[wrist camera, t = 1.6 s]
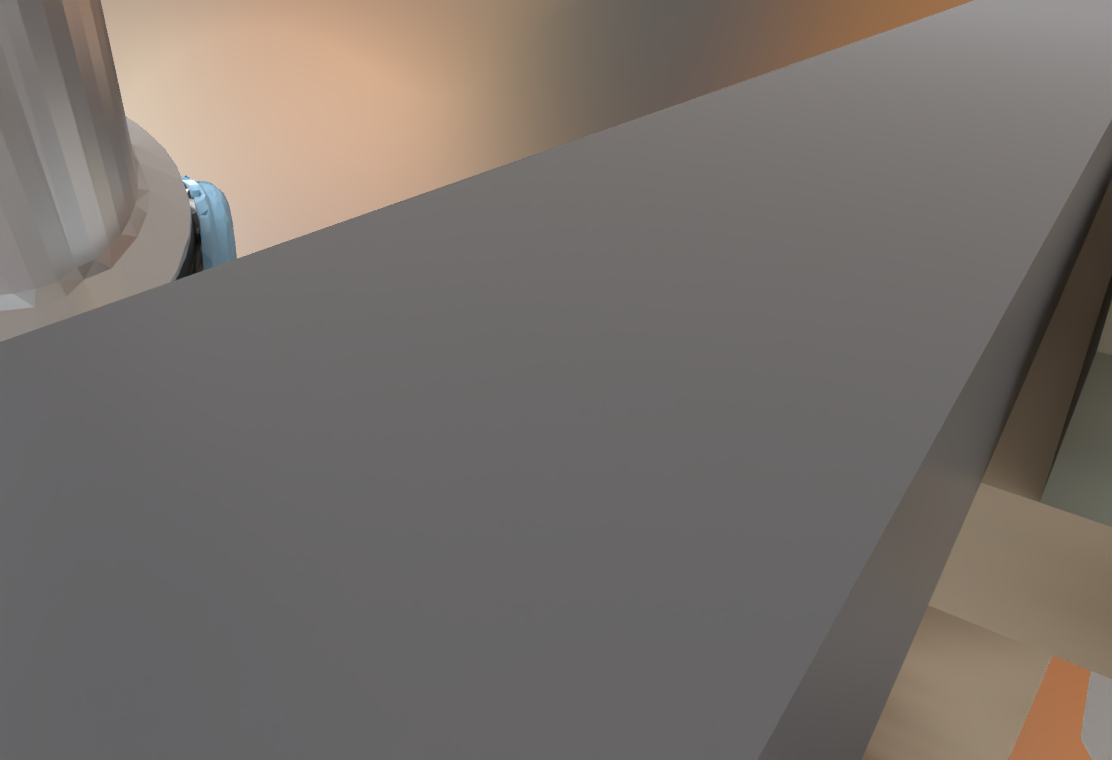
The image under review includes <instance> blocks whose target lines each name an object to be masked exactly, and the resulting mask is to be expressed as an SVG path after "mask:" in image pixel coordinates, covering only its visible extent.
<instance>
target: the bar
mask: <svg viewBox="0 0 1112 760" xmlns="http://www.w3.org/2000/svg"><path fill="white" fill-rule="evenodd" d="M1111 179H1112V0H975V1H972V2H969V3H966V4H963V5H960V6H957V7H955V8H952V9H949V10H946V11H943V12H940V13H937V14H935V15H932V16H929V17H926V18H923V19H920V20H917V21H914V22H912V23H909V24H906V25H903V26H900V27H898V28H895V29H892V30H889V31H886V32H883V33H880V34H877V35H874V36H872V37H869V38H866V39H863V40H860V41H857V42H855V43H852V44H849V45H846V46H843V47H840V48H837V49H835V50H832V51H829V52H826V53H823V54H820V55H817V56H815V57H812V58H809V59H806V60H803V61H800V62H797V63H795V64H792V65H789V66H786V67H783V68H780V69H777V70H775V71H772V72H769V73H766V74H763V75H761V76H757V77H755V78H752V79H749V80H746V81H743V82H740V83H738V84H735V85H732V86H729V87H726V88H723V89H720V90H718V91H715V92H712V93H709V94H706V95H703V96H700V97H698V98H695V99H692V100H689V101H686V102H683V103H681V104H678V105H675V106H672V107H669V108H666V109H664V110H660V111H658V112H655V113H652V114H649V115H646V116H644V117H640V118H638V119H635V120H632V121H629V122H626V123H624V124H620V125H618V126H615V127H612V128H609V129H606V130H603V131H601V132H598V133H595V134H592V135H589V136H586V137H583V138H581V139H578V140H575V141H572V142H569V143H566V144H563V145H561V146H558V147H555V148H552V149H549V150H546V151H543V152H541V153H538V154H535V155H532V156H529V157H526V158H524V159H521V160H518V161H515V162H512V163H509V164H507V165H504V166H501V167H498V168H495V169H492V170H489V171H486V172H484V173H481V174H478V175H475V176H472V177H469V178H466V179H464V180H461V181H458V182H455V183H452V184H449V185H446V186H444V187H441V188H438V189H435V190H432V191H429V192H426V193H424V194H421V195H418V196H415V197H412V198H409V199H407V200H404V201H401V202H398V203H395V204H393V205H389V206H386V207H384V208H381V209H378V210H375V211H372V212H369V213H367V214H364V215H361V216H358V217H355V218H353V219H349V220H347V221H344V222H341V223H338V224H335V225H333V226H329V227H327V228H324V229H321V230H318V231H315V232H312V233H310V234H307V235H304V236H301V237H298V238H295V239H292V240H290V241H287V242H284V243H281V244H278V245H275V246H272V247H270V248H267V249H264V250H261V251H258V252H255V253H252V254H250V255H247V256H244V257H241V258H238V259H235V260H232V261H230V262H227V263H224V264H221V265H218V266H215V267H212V268H210V269H207V270H204V271H201V272H198V273H195V274H192V275H190V276H187V277H184V278H181V279H178V280H175V281H172V282H170V283H167V284H164V285H161V286H158V287H155V288H153V289H150V290H147V291H144V292H141V293H138V294H135V295H133V296H130V297H127V298H124V299H121V300H118V301H115V302H113V303H110V304H107V305H104V306H101V307H98V308H95V309H93V310H90V311H87V312H84V313H81V314H78V315H75V316H73V317H70V318H67V319H64V320H61V321H58V322H55V323H53V324H50V325H47V326H44V327H41V328H38V329H36V330H33V331H30V332H27V333H24V334H21V335H18V336H16V337H13V338H10V339H7V340H4V341H1V342H0V760H862V758H863V755H864V753H865V751H866V748H867V746H868V744H869V741H870V739H871V737H872V734H873V732H874V730H875V727H876V725H877V723H878V720H879V718H880V716H881V713H882V711H883V709H884V706H885V704H886V702H887V699H888V697H889V695H890V693H891V690H892V688H893V686H894V683H895V681H896V679H897V676H898V674H899V672H900V669H901V667H902V665H903V662H904V660H905V658H906V655H907V653H908V651H909V648H910V646H911V644H912V641H913V639H914V637H915V634H916V632H917V630H918V627H919V625H920V623H921V620H922V618H923V616H924V613H925V611H926V609H927V607H928V604H929V602H930V600H931V597H932V595H933V593H934V590H935V588H936V586H937V583H938V581H939V579H940V576H941V574H942V572H943V569H944V567H945V565H946V562H947V560H948V558H949V555H950V553H951V551H952V548H953V546H954V544H955V541H956V539H957V537H958V534H959V532H960V530H961V527H962V525H963V523H964V521H965V518H966V516H967V514H968V511H969V509H970V507H971V504H972V502H973V500H974V497H975V495H976V493H977V490H978V488H979V486H980V483H981V481H982V479H983V476H984V474H985V472H986V469H987V467H988V465H989V462H990V460H991V458H992V455H993V453H994V451H995V448H996V446H997V444H998V441H999V439H1000V437H1001V435H1002V432H1003V430H1004V428H1005V425H1006V423H1007V421H1008V418H1009V416H1010V414H1011V411H1012V409H1013V407H1014V404H1015V402H1016V400H1017V397H1018V395H1019V393H1020V390H1021V388H1022V386H1023V383H1024V381H1025V379H1026V376H1027V374H1028V372H1029V369H1030V367H1031V365H1032V362H1033V360H1034V358H1035V355H1036V353H1037V351H1038V349H1039V346H1040V344H1041V342H1042V339H1043V337H1044V335H1045V332H1046V330H1047V328H1048V325H1049V323H1050V321H1051V318H1052V316H1053V314H1054V311H1055V309H1056V307H1057V304H1058V302H1059V300H1060V297H1061V295H1062V293H1063V290H1064V288H1065V286H1066V283H1067V281H1068V279H1069V276H1070V274H1071V272H1072V269H1073V267H1074V265H1075V263H1076V260H1077V258H1078V256H1079V253H1080V251H1081V249H1082V246H1083V244H1084V242H1085V239H1086V237H1087V235H1088V232H1089V230H1090V228H1091V225H1092V223H1093V221H1094V218H1095V216H1096V214H1097V211H1098V209H1099V207H1100V204H1101V202H1102V200H1103V197H1104V195H1105V193H1106V190H1107V188H1108V186H1109V183H1110V181H1111Z"/></svg>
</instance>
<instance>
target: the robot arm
mask: <svg viewBox="0 0 1112 760" xmlns="http://www.w3.org/2000/svg"><path fill="white" fill-rule="evenodd" d="M235 259H237V257H236V247H235V238H234V230H233V222H232V217H231V212H230V207H229V204H228V201H227V199H226V197H225V195H224V193H223V192H222V191H221V190H220V189H218V188H217V187H216V186H214V185H213V184H212V183H209V182H205V181H194V180H193V179H191V178H189V177H187V176H184V177H182V176H180V173H179V171H178V169H177V166H176V164H175V163H174V162H173V160H172V159H171V157H170V156H169V154H168V153H167V152H166V150H165V149H164V148H163V147H162V146H161V145H160V144H159V143H158V142H157V141H156V140H155V139H154V138H153V137H152V136H151V135H150V134H149V133H148V132H147V131H145V130H144V129H143V128H142V127H140V126H139V125H138V124H137V123H135V122H134V121H132V120H131V119H129V118H127V117H126V116H125V113H124V107H123V103H122V98H121V93H120V89H119V84H118V79H117V74H116V70H115V65H114V61H113V56H112V51H111V47H110V42H109V37H108V33H107V28H106V24H105V19H104V14H103V9H102V5H101V0H0V342H1V341H4V340H7V339H10V338H13V337H16V336H18V335H21V334H24V333H27V332H30V331H33V330H36V329H38V328H41V327H44V326H47V325H50V324H53V323H55V322H58V321H61V320H64V319H67V318H70V317H73V316H75V315H78V314H81V313H84V312H87V311H90V310H93V309H95V308H98V307H101V306H104V305H107V304H110V303H113V302H115V301H118V300H121V299H124V298H127V297H130V296H133V295H135V294H138V293H141V292H144V291H147V290H150V289H153V288H155V287H158V286H161V285H164V284H167V283H170V282H172V281H175V280H178V279H181V278H184V277H187V276H190V275H192V274H195V273H198V272H201V271H204V270H207V269H210V268H212V267H215V266H218V265H221V264H224V263H227V262H230V261H232V260H235ZM1081 740H1082V742H1083V744H1084V746H1085V747H1086V749H1087V751H1088V753H1089V755H1090V756H1091V758H1092V760H1112V679H1110V678H1108V677H1105V676H1103V675H1100V674H1098V673H1095V672H1093V671H1091V674H1090V680H1089V686H1088V693H1087V699H1086V706H1085V712H1084V719H1083V726H1082V733H1081Z"/></svg>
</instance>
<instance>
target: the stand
mask: <svg viewBox="0 0 1112 760" xmlns="http://www.w3.org/2000/svg"><path fill="white" fill-rule="evenodd" d="M1052 656H1056V657H1058V658H1060V659H1063V660H1066V661H1068V662H1070V663H1073V664H1075V665H1078V666H1080V667H1083V668H1085V669H1088V670H1090V671H1093V672H1095V673H1098V674H1100V675H1103V676H1105V677H1108V678H1110V679H1112V179H1111V181H1110V183H1109V186H1108V188H1107V190H1106V193H1105V195H1104V197H1103V200H1102V202H1101V204H1100V207H1099V209H1098V211H1097V214H1096V216H1095V218H1094V221H1093V223H1092V225H1091V228H1090V230H1089V232H1088V235H1087V237H1086V239H1085V242H1084V244H1083V246H1082V249H1081V251H1080V253H1079V256H1078V258H1077V260H1076V263H1075V265H1074V267H1073V269H1072V272H1071V274H1070V276H1069V279H1068V281H1067V283H1066V286H1065V288H1064V290H1063V293H1062V295H1061V297H1060V300H1059V302H1058V304H1057V307H1056V309H1055V311H1054V314H1053V316H1052V318H1051V321H1050V323H1049V325H1048V328H1047V330H1046V332H1045V335H1044V337H1043V339H1042V342H1041V344H1040V346H1039V349H1038V351H1037V353H1036V355H1035V358H1034V360H1033V362H1032V365H1031V367H1030V369H1029V372H1028V374H1027V376H1026V379H1025V381H1024V383H1023V386H1022V388H1021V390H1020V393H1019V395H1018V397H1017V400H1016V402H1015V404H1014V407H1013V409H1012V411H1011V414H1010V416H1009V418H1008V421H1007V423H1006V425H1005V428H1004V430H1003V432H1002V435H1001V437H1000V439H999V441H998V444H997V446H996V448H995V451H994V453H993V455H992V458H991V460H990V462H989V465H988V467H987V469H986V472H985V474H984V476H983V479H982V481H981V483H980V486H979V488H978V490H977V493H976V495H975V497H974V500H973V502H972V504H971V507H970V509H969V511H968V514H967V516H966V518H965V521H964V523H963V525H962V527H961V530H960V532H959V534H958V537H957V539H956V541H955V544H954V546H953V548H952V551H951V553H950V555H949V558H948V560H947V562H946V565H945V567H944V569H943V572H942V574H941V576H940V579H939V581H938V583H937V586H936V588H935V590H934V593H933V595H932V597H931V600H930V602H929V604H928V607H927V609H926V611H925V613H924V616H923V618H922V620H921V623H920V625H919V627H918V630H917V632H916V634H915V637H914V639H913V641H912V644H911V646H910V648H909V651H908V653H907V655H906V658H905V660H904V662H903V665H902V667H901V669H900V672H899V674H898V676H897V679H896V681H895V683H894V686H893V688H892V690H891V693H890V695H889V697H888V699H887V702H886V704H885V706H884V709H883V711H882V713H881V716H880V718H879V720H878V723H877V725H876V727H875V730H874V732H873V734H872V737H871V739H870V741H869V744H868V746H867V748H866V751H865V753H864V755H863V758H862V760H1008V759H1009V757H1010V755H1011V753H1012V750H1013V748H1014V745H1015V743H1016V741H1017V738H1018V736H1019V733H1020V731H1021V728H1022V726H1023V724H1024V722H1025V720H1026V717H1027V715H1028V712H1029V710H1030V708H1031V705H1032V703H1033V701H1034V698H1035V696H1036V694H1037V691H1038V689H1039V686H1040V684H1041V682H1042V679H1043V677H1044V675H1045V673H1046V670H1047V668H1048V665H1049V663H1050V661H1051V658H1052Z"/></svg>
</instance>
